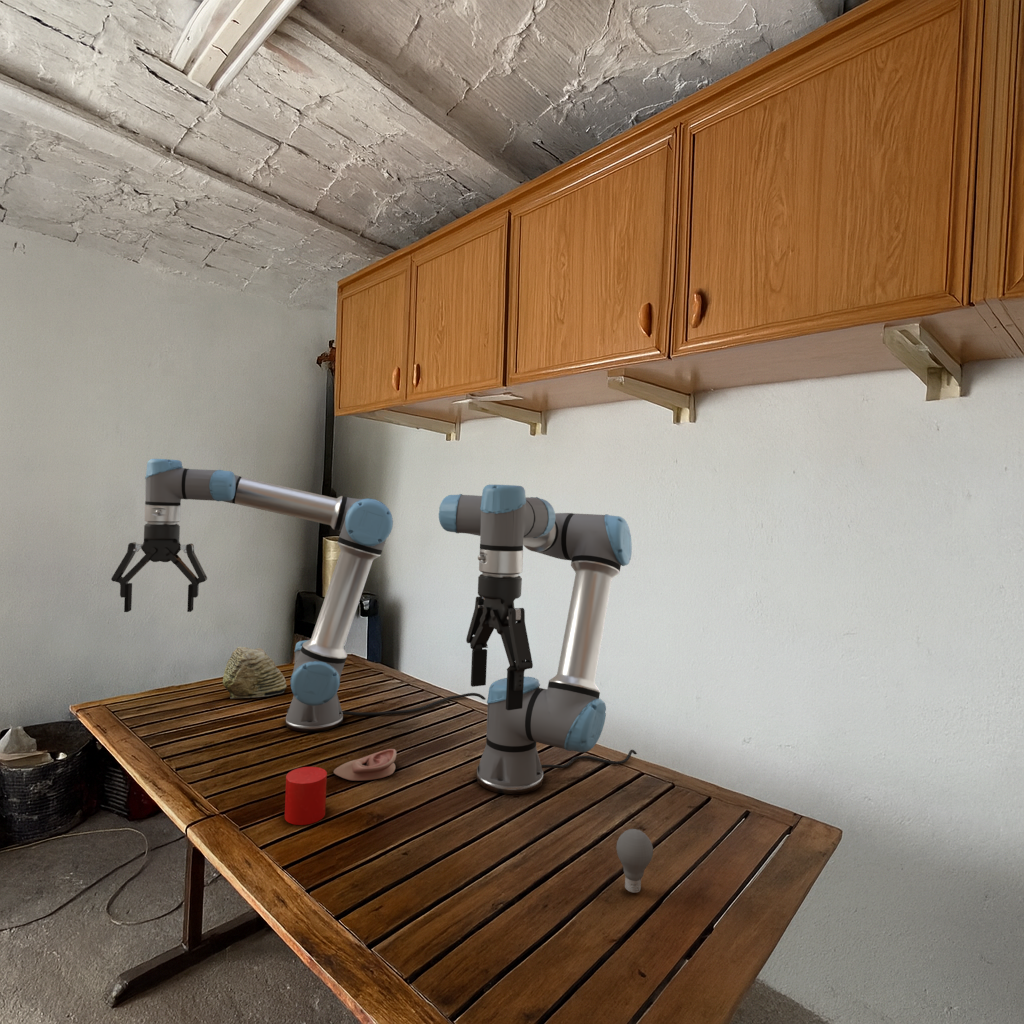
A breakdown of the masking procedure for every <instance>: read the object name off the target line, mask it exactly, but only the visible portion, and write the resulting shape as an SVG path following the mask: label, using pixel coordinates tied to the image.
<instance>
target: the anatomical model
mask: <svg viewBox="0 0 1024 1024" xmlns="http://www.w3.org/2000/svg"><path fill="white" fill-rule="evenodd" d="M396 759H397V750H396V749H395V748H389V749H388V748H387V749H384V750H380V751H377V752H374V753H372V754H369V755H366V756H363V757H361V758H357V759H353V760H350V761H347V762H345V763H342V764H341V765H339V766H337V767H336V768H334V769H333V774H334V775H336V776H338V777H339V778H342V779H345V780H348V781H354V782H359V781H372V780H377V779H382V778H386V777H388V776H391V775H393V773H394V772H395V771H396V764H395V760H396Z"/></svg>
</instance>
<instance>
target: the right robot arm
mask: <svg viewBox="0 0 1024 1024" xmlns="http://www.w3.org/2000/svg"><path fill="white" fill-rule="evenodd" d="M438 509H439V510H438V521H439V524H440V527H442V529H443V530H444V531H446V532H450V533H455V534H468V535H473V536H477V537H480V539H479V540H480V541H479V555H477V560H478V570H479V571H480V573H481V574H479V576H478V577H477V578H478V579H477V595H478V596H476V597H475V602H474V603H475V604H474V610H473V613H472V617H471V621H470V624H469V628H468V631H467V634H466V640H465V642H466V643H467V644H469V645H470V646H469V647H470V649H471V667H470V668H471V669H470V686H471V688H473V687H483V686H486V685H487V669H488V668H487V667H488V666H487V664H488V648H489V646H488V645H489V644H488V641H489V639H490V638H491V636H492V634H493V632H494V630H496V633H497V635H500V638H501V641H502V645H503V648H504V652H505V654H506V658H507V661H508V664H509V666H507V668H506V677H504V678H500V679H497V680H495V681H493V682H492V683H491V684H490V685H489V688H488V693H487V694H488V695H487V699H486V703H487V708H486V709H487V710H486V733H485V734H486V737H485V747H484V749H483V752H482V755H481V758H480V761H479V763H478V765H477V767H476V781H477V783H478V784H479V785H480V786H481V787H482V788H484V789H485V790H488V791H491V792H493V793H498V794H504V795H521V794H527V793H531V792H533V791H536V790H538V789H539V788H540V787H541V786H542V785H543V783H544V771H543V769H565V768H568V767H569V766H571V765H572V763H573V762H575V761H578V760H584V759H585V760H592V761H596V762H599V763H603V764H608V765H624V764H625V763H627V762H628V761H629V760H630V758H631V757H632V754H633V755H637V754H638V753H637V751H636V750H635V749H629V751H628V753H627V755H626V756H625V758H624V759H622V760H607V759H605V758H604V759H603V758H600V757H595V756H591V755H577V756H574V757H572V758H571V759H570V760H569V761H568V762H567V763H565V764H541V759H540V757H539V756H540V755H539V752H538V749H537V743H538V744H543V745H546V746H550V747H554V748H559V749H562V750H565V751H568V752H578V753H588V752H589V751H591V750H592V749H593V748H594V747H595V746H596V744H597V743H598V741H599V739H600V738H601V735H602V732H603V729H604V726H605V722H606V718H607V717H606V715H607V712H606V711H607V706H606V705H607V704H606V703H605V701H604V700H603V699H601V698H600V694H601V690H600V689H599V687H598V685H597V684H596V677H597V671H598V665H599V659H600V653H601V648H602V647H601V646H602V642H603V641H602V640H603V635H604V630H605V629H604V628H605V623H606V616H607V611H608V607H609V598H610V595H611V587H612V580H614V579H615V578H616V577H618V576H619V575H620V572H621V567H625V566H628V565H629V564H630V561H631V558H632V553H633V551H632V550H633V548H632V547H633V546H632V545H633V543H632V535H631V530H630V526H629V523H628V521H627V520H626V519H625V518H624V517H622V516H619V515H612V514H611V515H610V514H594V513H573V512H556V511H555V509H554V506H553V505H552V504H551V503H550V502H549V501H548V500H546V499H544V498H540V497H538V496H536V497H533V496H530V497H528V496H526V489H525V488H524V486H521V485H514V484H486V485H485V486H484V487H483V488H482V494H481V495H474V494H463V493H459V494H448V495H446V496H445V497H444V498H443V499H442V500H441V502H440V504H439V507H438ZM524 548H525V549H527V550H528V551H530V552H534V553H538V554H542V555H544V556H547V557H551V558H554V559H558V560H563V561H570V567H571V568H572V570H573V571H574V572H575V576H574V581H573V587H572V592H571V596H570V601H569V602H570V603H569V608H568V614H567V619H566V624H565V629H564V635H563V642H562V644H561V650H560V657H559V662H558V667H557V672H556V674H555V676H553V677H552V678H550V679H549V680H548V684H547V688H542V687H540V686H541V683H540V680H539V679H538V678H536V677H533V676H525V671H527V670H530V669H533V667H534V663H533V659H532V653H531V648H530V642H529V636H528V632H527V627H526V615H525V613H526V610H525V608H524V607H515V600H516V599H520V598H521V596H522V584H523V578H522V577H521V576H520V574H522V573H523V567H524V566H523V564H524V563H523V562H524V561H523V560H524Z"/></svg>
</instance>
